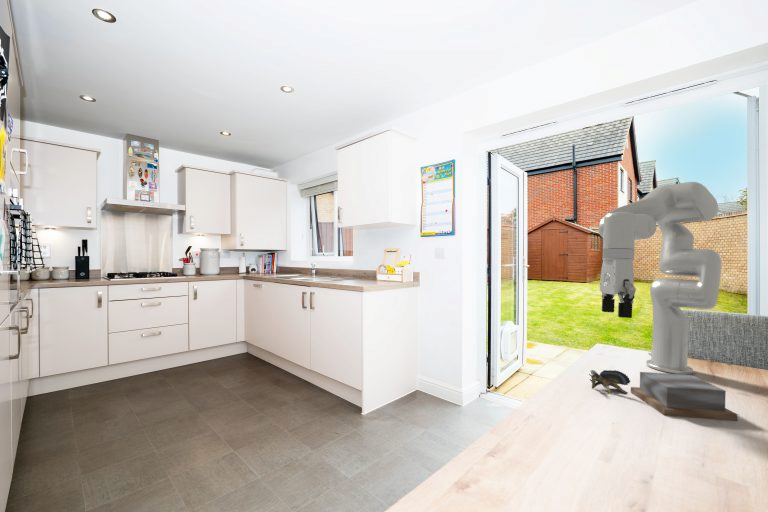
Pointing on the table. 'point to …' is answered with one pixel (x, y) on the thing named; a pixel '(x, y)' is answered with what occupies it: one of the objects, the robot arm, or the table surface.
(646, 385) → the pedestal
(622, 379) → the eagle figurine
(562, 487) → the table surface
